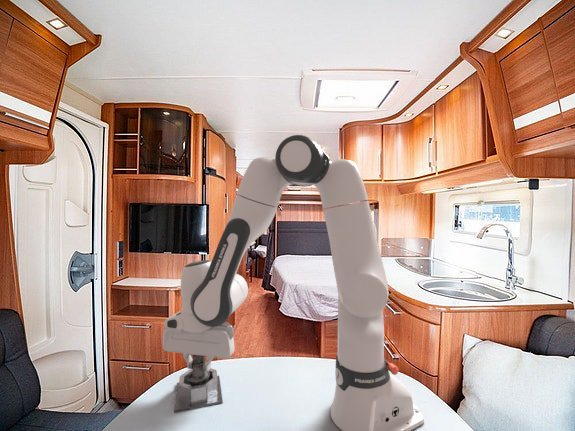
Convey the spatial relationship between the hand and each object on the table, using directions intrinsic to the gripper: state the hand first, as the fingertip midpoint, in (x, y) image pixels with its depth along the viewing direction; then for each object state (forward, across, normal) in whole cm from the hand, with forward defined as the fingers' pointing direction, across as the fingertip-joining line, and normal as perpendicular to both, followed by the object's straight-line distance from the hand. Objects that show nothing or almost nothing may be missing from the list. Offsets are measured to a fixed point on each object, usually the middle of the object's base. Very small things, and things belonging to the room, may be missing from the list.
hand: (198, 368), depth 81 cm
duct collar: (+7, 0, 0) cm, 7 cm away
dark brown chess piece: (+6, 0, 0) cm, 6 cm away
